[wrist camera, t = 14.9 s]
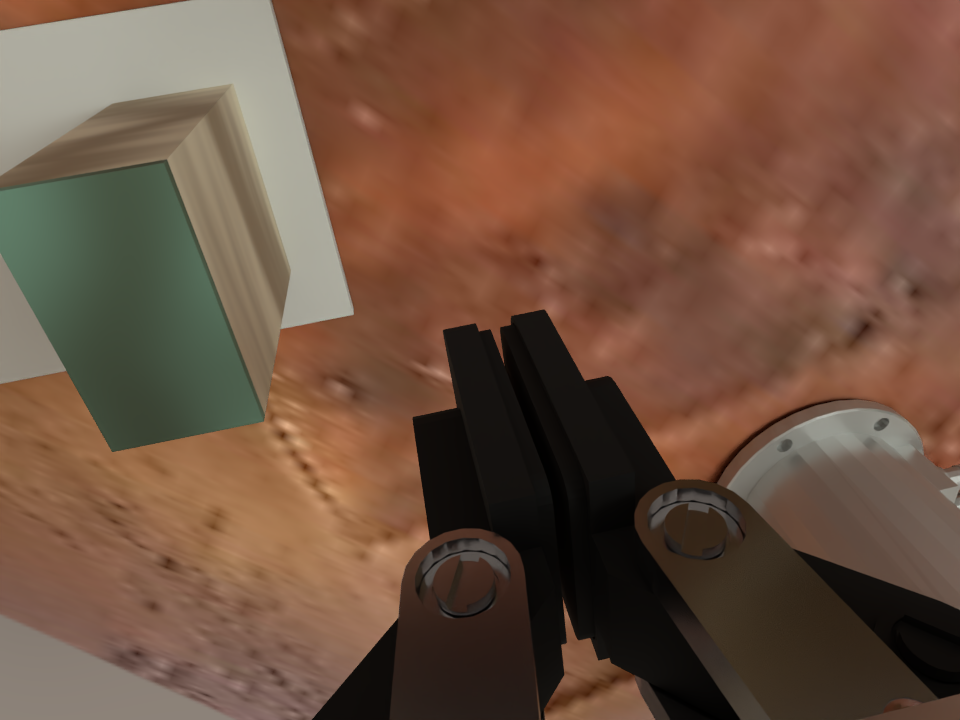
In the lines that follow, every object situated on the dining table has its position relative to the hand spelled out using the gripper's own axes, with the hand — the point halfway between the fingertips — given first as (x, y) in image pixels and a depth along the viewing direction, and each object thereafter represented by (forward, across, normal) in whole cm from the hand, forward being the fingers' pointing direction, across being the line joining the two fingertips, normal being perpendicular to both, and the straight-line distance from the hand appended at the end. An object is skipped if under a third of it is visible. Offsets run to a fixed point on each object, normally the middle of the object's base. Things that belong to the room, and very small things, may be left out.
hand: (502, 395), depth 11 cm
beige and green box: (+16, +8, 0) cm, 18 cm away
